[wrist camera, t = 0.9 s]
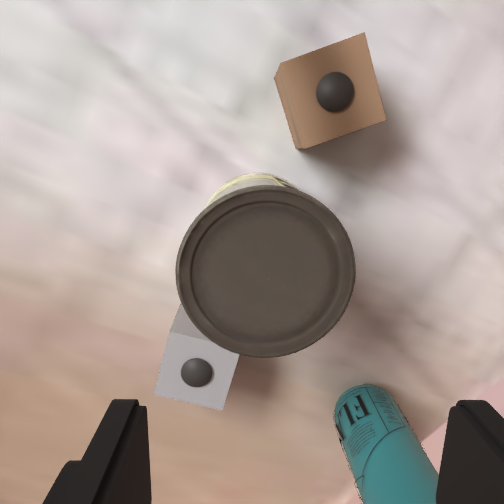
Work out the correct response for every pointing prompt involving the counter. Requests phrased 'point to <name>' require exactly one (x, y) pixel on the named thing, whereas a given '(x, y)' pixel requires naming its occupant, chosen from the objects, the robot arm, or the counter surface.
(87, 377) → the counter surface
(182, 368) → the grey dotted block
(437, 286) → the counter surface
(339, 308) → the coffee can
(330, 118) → the walnut dotted block
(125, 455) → the robot arm
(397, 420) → the beverage bottle
